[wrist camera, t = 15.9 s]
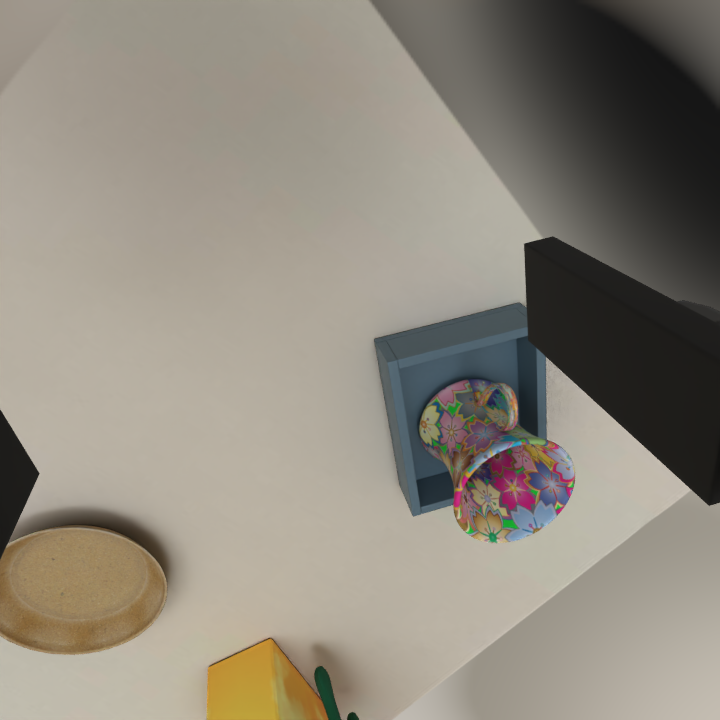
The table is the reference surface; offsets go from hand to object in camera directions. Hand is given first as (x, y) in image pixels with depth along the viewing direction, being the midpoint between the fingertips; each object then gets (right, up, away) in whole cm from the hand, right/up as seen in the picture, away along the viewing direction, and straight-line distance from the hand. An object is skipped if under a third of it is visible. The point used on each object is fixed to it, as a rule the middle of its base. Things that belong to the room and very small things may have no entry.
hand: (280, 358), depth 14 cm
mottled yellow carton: (-5, -36, +49) cm, 61 cm away
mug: (+11, -4, +35) cm, 37 cm away
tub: (+10, -4, +36) cm, 38 cm away
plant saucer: (-23, -19, +36) cm, 46 cm away
